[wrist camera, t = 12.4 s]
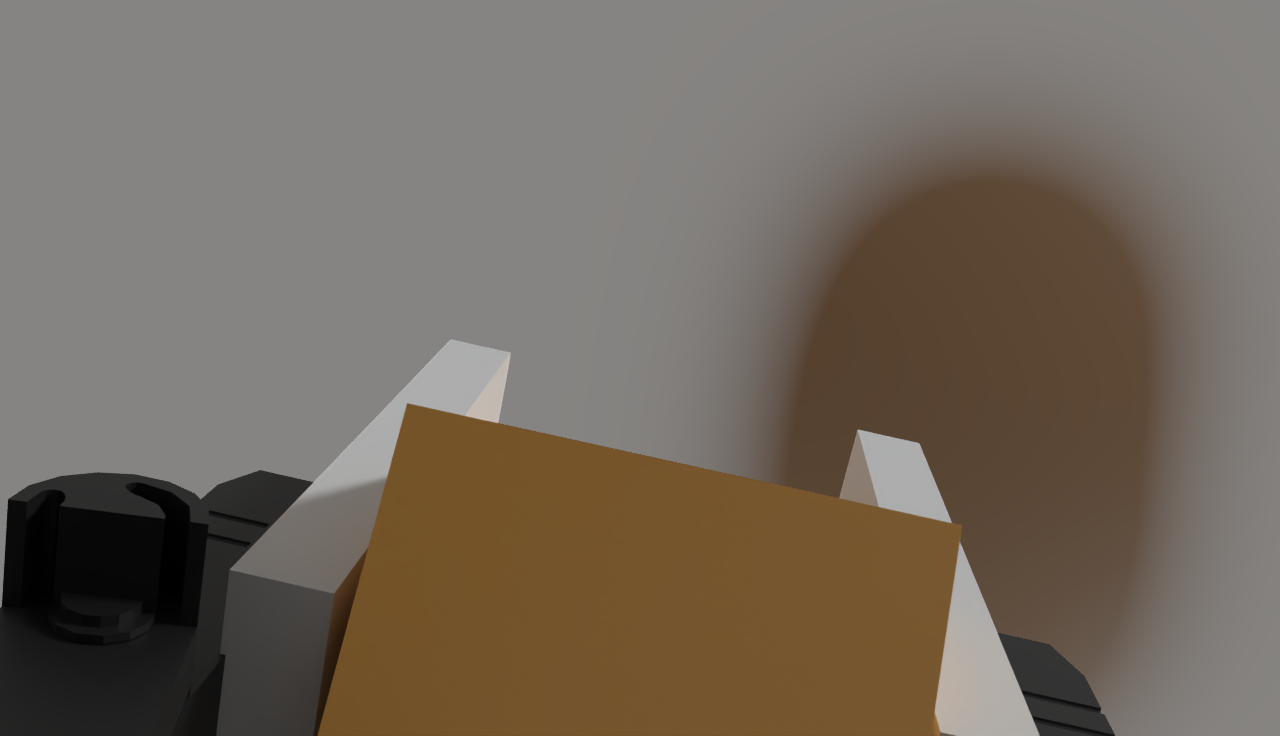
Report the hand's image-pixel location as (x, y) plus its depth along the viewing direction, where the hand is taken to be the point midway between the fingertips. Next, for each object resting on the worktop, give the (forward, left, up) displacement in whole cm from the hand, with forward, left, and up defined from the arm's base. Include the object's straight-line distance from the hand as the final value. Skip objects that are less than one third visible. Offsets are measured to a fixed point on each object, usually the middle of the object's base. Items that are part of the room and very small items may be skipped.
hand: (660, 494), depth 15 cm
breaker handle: (0, -3, -4) cm, 4 cm away
